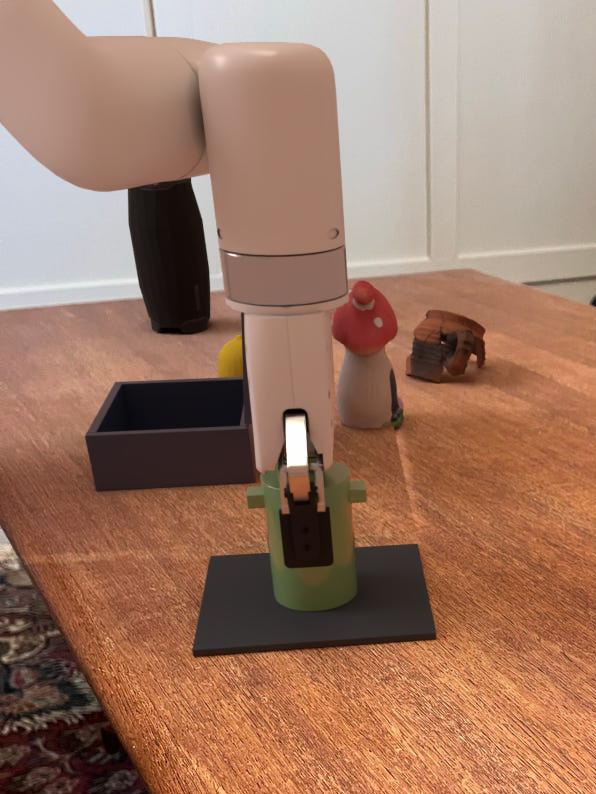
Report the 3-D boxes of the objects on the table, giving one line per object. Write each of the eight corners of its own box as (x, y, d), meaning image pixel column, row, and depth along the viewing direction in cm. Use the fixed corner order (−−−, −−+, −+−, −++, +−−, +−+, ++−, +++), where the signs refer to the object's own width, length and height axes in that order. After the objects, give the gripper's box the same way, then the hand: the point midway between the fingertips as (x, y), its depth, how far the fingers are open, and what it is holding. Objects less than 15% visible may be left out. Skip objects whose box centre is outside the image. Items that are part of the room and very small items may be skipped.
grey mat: (193, 656, 66) (192, 650, 66) (210, 561, 78) (210, 555, 78) (436, 639, 68) (436, 632, 68) (417, 548, 80) (417, 543, 80)
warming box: (97, 499, 88) (84, 435, 85) (125, 438, 102) (114, 381, 99) (256, 491, 90) (248, 428, 87) (263, 432, 103) (256, 375, 100)
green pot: (257, 615, 70) (242, 494, 65) (261, 575, 75) (247, 460, 70) (374, 607, 71) (366, 487, 66) (369, 569, 76) (362, 455, 71)
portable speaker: (139, 325, 141) (113, 171, 131) (205, 317, 145) (184, 167, 135) (156, 339, 134) (130, 178, 124) (225, 330, 139) (205, 173, 129)
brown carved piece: (388, 373, 123) (407, 306, 122) (454, 399, 127) (473, 335, 127) (429, 372, 112) (450, 299, 112) (499, 400, 117) (521, 331, 116)
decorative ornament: (386, 442, 101) (379, 286, 93) (324, 437, 102) (312, 282, 94) (413, 413, 108) (408, 266, 101) (355, 408, 110) (346, 263, 102)
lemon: (214, 415, 108) (203, 339, 104) (236, 399, 112) (227, 326, 108) (262, 419, 107) (253, 343, 103) (283, 403, 111) (275, 329, 107)
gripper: (232, 252, 69) (260, 490, 78) (210, 312, 54) (248, 598, 63) (343, 249, 70) (358, 485, 78) (352, 308, 55) (369, 591, 64)
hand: (309, 535), depth 71 cm, fingers open, 8 cm apart
